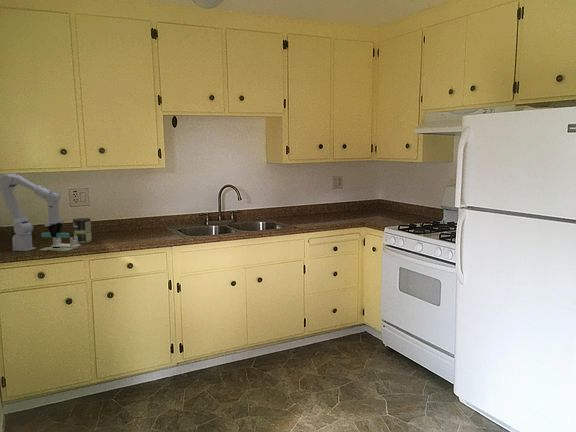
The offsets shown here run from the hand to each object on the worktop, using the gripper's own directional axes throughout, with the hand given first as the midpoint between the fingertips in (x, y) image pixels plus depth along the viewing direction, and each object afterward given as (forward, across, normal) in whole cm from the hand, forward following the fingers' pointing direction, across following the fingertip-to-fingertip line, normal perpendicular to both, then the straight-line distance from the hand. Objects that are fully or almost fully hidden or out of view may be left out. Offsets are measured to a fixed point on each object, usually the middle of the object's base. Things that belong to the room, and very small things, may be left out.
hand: (55, 236), depth 261 cm
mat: (+7, 0, 0) cm, 7 cm away
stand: (+7, +8, 0) cm, 11 cm away
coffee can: (+8, +25, -1) cm, 26 cm away
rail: (-1, 0, 0) cm, 1 cm away
